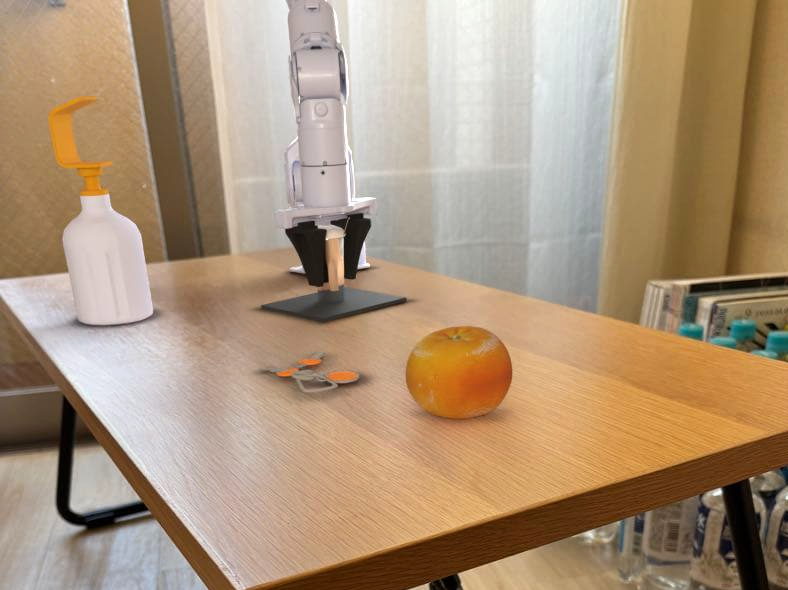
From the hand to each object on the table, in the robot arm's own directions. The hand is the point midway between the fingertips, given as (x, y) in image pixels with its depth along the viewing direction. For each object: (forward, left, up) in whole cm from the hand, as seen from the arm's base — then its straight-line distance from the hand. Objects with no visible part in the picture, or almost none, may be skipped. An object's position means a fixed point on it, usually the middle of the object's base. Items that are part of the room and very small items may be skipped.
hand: (332, 282), depth 112 cm
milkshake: (0, 0, -2) cm, 3 cm away
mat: (0, 0, -3) cm, 3 cm away
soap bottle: (+21, -17, -3) cm, 27 cm away
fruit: (+21, +40, -3) cm, 45 cm away
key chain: (+22, +22, -3) cm, 31 cm away
